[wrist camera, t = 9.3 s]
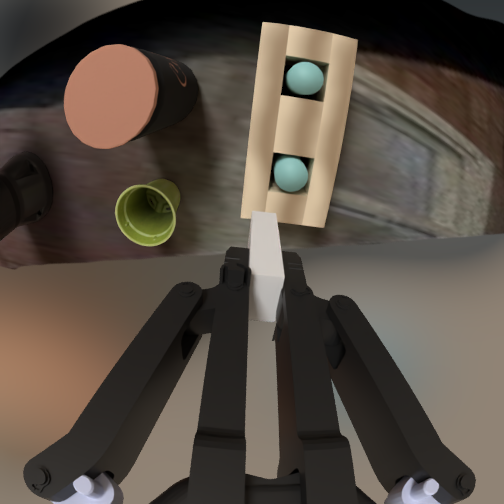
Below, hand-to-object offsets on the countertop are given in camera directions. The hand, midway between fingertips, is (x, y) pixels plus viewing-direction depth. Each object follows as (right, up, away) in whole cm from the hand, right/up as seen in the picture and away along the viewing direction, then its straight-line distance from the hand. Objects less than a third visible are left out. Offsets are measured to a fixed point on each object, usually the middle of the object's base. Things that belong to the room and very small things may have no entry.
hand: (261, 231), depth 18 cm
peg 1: (+6, +23, +16) cm, 28 cm away
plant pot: (-15, +8, +27) cm, 32 cm away
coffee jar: (-13, +23, +18) cm, 32 cm away
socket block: (+5, +18, +20) cm, 27 cm away
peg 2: (+4, +12, +22) cm, 26 cm away
